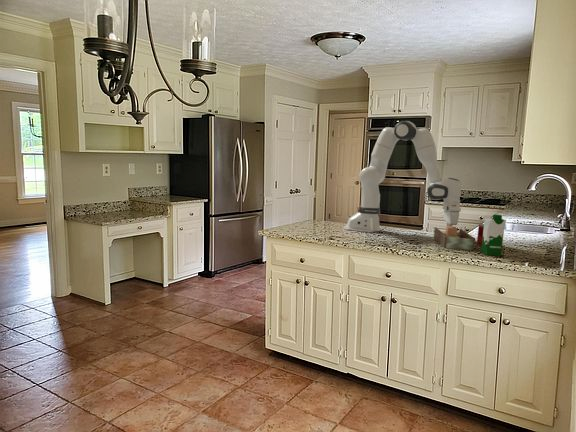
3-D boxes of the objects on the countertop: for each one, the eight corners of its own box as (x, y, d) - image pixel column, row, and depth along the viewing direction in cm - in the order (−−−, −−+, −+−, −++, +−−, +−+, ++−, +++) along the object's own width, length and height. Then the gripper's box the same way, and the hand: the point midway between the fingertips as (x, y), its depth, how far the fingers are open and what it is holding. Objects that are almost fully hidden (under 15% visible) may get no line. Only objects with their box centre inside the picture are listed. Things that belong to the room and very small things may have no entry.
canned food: (483, 246, 235) (485, 226, 234) (473, 243, 243) (475, 223, 241) (495, 246, 237) (497, 226, 236) (484, 242, 245) (487, 223, 243)
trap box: (444, 247, 227) (445, 236, 226) (433, 237, 254) (434, 227, 253) (474, 249, 225) (475, 238, 224) (460, 239, 252) (461, 229, 251)
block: (447, 234, 242) (448, 227, 242) (445, 233, 247) (446, 226, 246) (456, 235, 242) (457, 228, 241) (454, 233, 246) (455, 226, 246)
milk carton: (486, 255, 213) (491, 215, 210) (477, 251, 222) (482, 212, 218) (503, 256, 213) (508, 216, 210) (494, 252, 222) (499, 213, 219)
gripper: (441, 204, 259) (439, 226, 261) (449, 208, 239) (447, 233, 241) (452, 204, 258) (450, 227, 260) (461, 209, 238) (459, 233, 240)
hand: (448, 230), depth 250 cm, fingers closed
